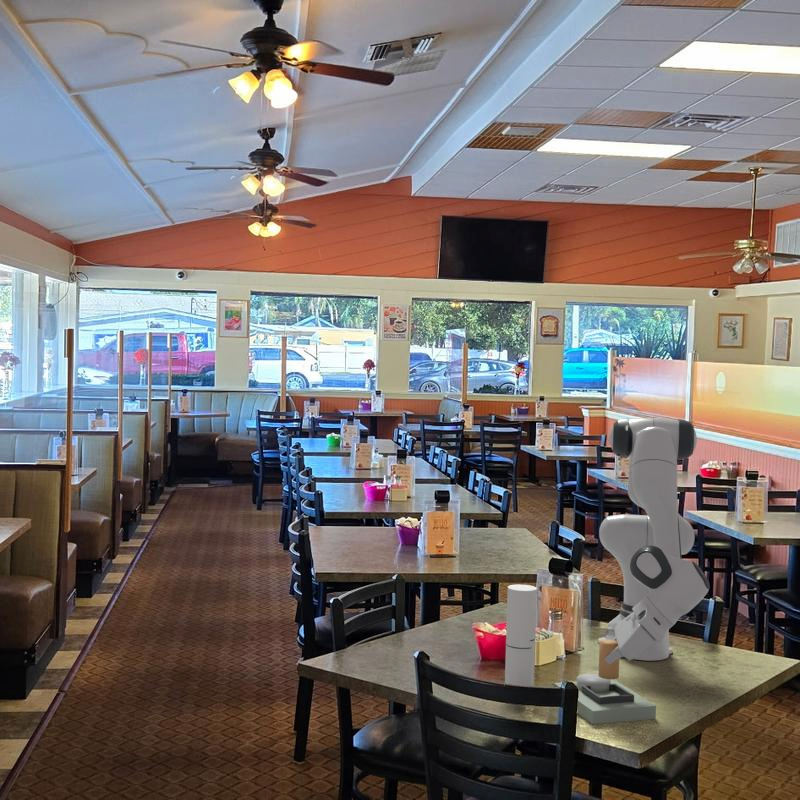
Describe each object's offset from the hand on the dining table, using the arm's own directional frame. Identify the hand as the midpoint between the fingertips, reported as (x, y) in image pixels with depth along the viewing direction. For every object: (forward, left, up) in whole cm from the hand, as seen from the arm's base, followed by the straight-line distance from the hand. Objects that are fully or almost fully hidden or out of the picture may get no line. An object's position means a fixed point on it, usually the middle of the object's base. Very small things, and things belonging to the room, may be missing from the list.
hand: (606, 657), depth 230 cm
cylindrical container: (-19, -13, -12) cm, 26 cm away
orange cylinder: (0, +1, -4) cm, 4 cm away
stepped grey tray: (-2, +1, -12) cm, 12 cm away
